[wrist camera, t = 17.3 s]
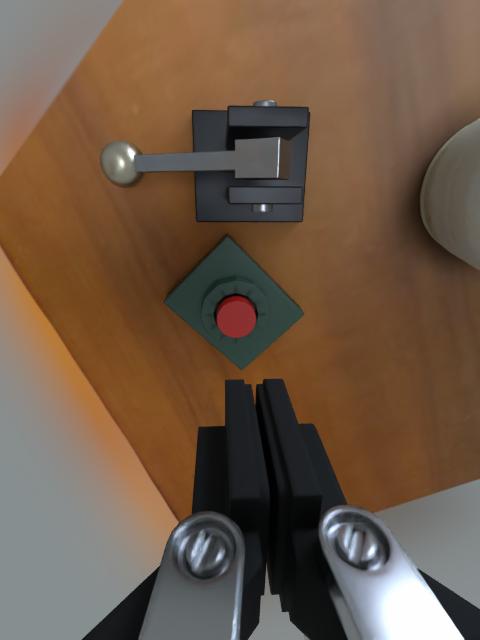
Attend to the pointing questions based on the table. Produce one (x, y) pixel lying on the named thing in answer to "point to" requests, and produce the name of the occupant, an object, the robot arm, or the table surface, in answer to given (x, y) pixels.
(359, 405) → the table surface
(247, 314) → the button
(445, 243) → the jug
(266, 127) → the bracket
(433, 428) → the table surface
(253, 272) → the button box
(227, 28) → the table surface
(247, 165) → the lever
